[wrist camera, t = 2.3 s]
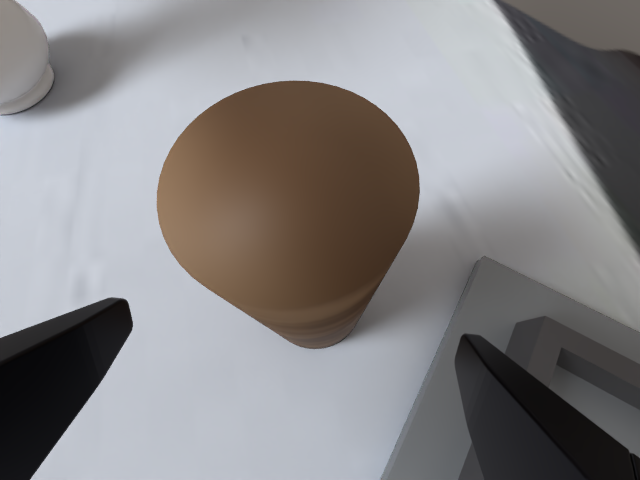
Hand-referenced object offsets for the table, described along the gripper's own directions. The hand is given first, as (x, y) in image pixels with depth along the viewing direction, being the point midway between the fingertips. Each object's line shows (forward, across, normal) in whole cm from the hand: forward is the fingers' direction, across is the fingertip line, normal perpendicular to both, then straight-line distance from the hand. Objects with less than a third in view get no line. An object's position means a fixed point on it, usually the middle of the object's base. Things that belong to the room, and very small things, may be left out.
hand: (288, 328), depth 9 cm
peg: (+9, 0, +5) cm, 10 cm away
